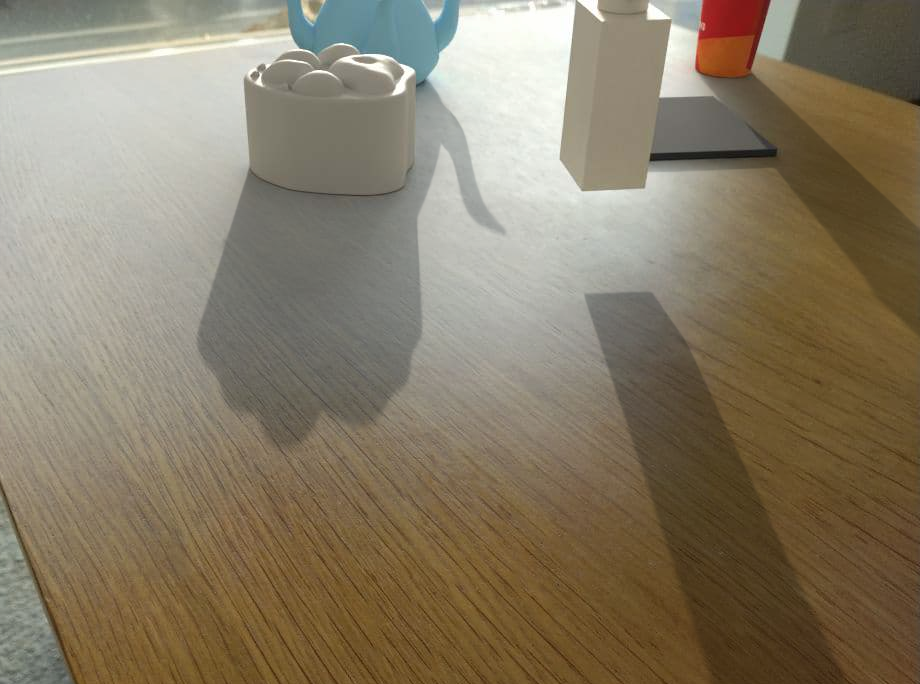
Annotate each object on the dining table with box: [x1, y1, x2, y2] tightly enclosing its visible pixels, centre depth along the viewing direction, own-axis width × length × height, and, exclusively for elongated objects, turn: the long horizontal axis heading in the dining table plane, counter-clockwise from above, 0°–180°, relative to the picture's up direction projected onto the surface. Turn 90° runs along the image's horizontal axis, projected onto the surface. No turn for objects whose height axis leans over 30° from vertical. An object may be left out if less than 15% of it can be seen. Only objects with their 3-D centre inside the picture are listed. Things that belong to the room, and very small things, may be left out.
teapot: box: [286, 0, 461, 86], centre depth 96 cm, size 15×15×10 cm
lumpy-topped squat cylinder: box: [243, 44, 417, 196], centre depth 76 cm, size 10×13×9 cm
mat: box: [649, 95, 779, 161], centre depth 86 cm, size 14×14×1 cm
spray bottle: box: [558, 0, 673, 192], centre depth 63 cm, size 4×6×17 cm
